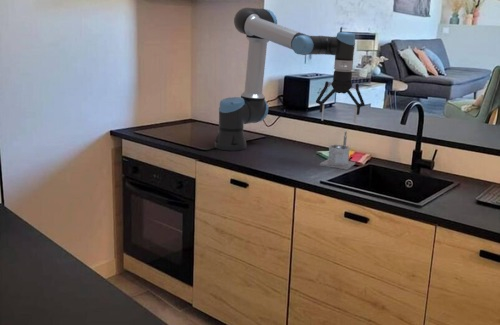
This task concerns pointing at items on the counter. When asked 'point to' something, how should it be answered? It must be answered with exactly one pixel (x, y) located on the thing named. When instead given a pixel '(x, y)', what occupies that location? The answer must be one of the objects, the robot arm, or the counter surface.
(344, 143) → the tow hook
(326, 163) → the square plate with knob
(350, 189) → the counter surface
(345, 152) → the grey piece
